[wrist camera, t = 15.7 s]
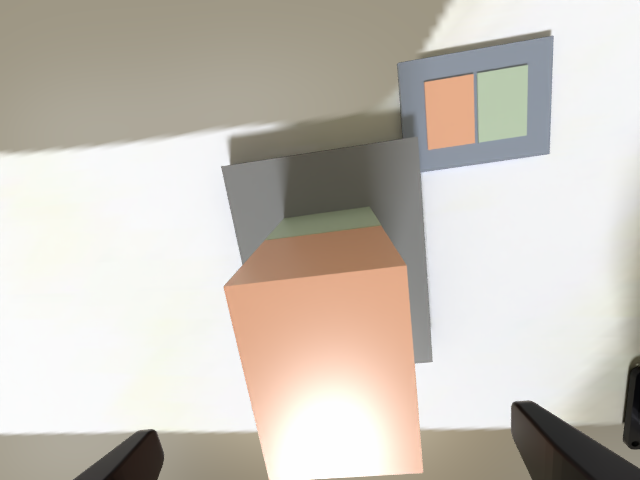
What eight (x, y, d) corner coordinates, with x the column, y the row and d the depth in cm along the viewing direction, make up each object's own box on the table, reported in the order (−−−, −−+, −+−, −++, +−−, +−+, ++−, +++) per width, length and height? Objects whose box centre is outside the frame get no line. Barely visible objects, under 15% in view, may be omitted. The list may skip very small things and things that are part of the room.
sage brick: (381, 316, 20) (395, 368, 15) (303, 324, 20) (292, 378, 15) (369, 206, 18) (380, 224, 13) (284, 218, 18) (264, 240, 13)
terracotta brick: (395, 369, 15) (423, 472, 10) (291, 378, 15) (269, 481, 10) (381, 225, 13) (406, 265, 8) (264, 240, 13) (223, 286, 9)
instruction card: (545, 154, 18) (550, 153, 18) (405, 173, 19) (406, 174, 18) (549, 37, 17) (554, 34, 16) (397, 64, 17) (398, 62, 17)
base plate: (426, 348, 22) (432, 361, 20) (271, 362, 23) (266, 376, 21) (411, 138, 18) (417, 136, 17) (229, 165, 19) (221, 166, 18)
